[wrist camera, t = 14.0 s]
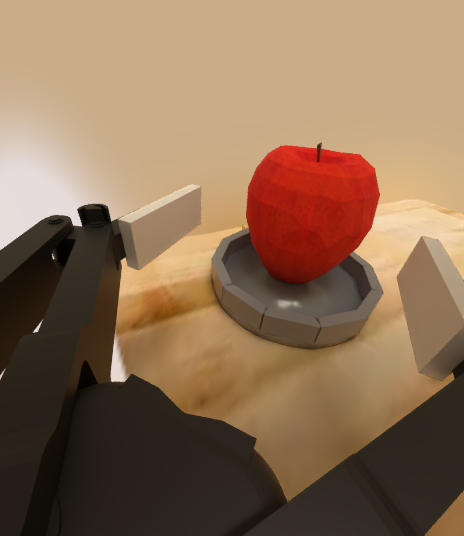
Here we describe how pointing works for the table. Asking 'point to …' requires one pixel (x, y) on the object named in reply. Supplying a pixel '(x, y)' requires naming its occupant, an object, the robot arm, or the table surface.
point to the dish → (293, 297)
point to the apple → (309, 210)
